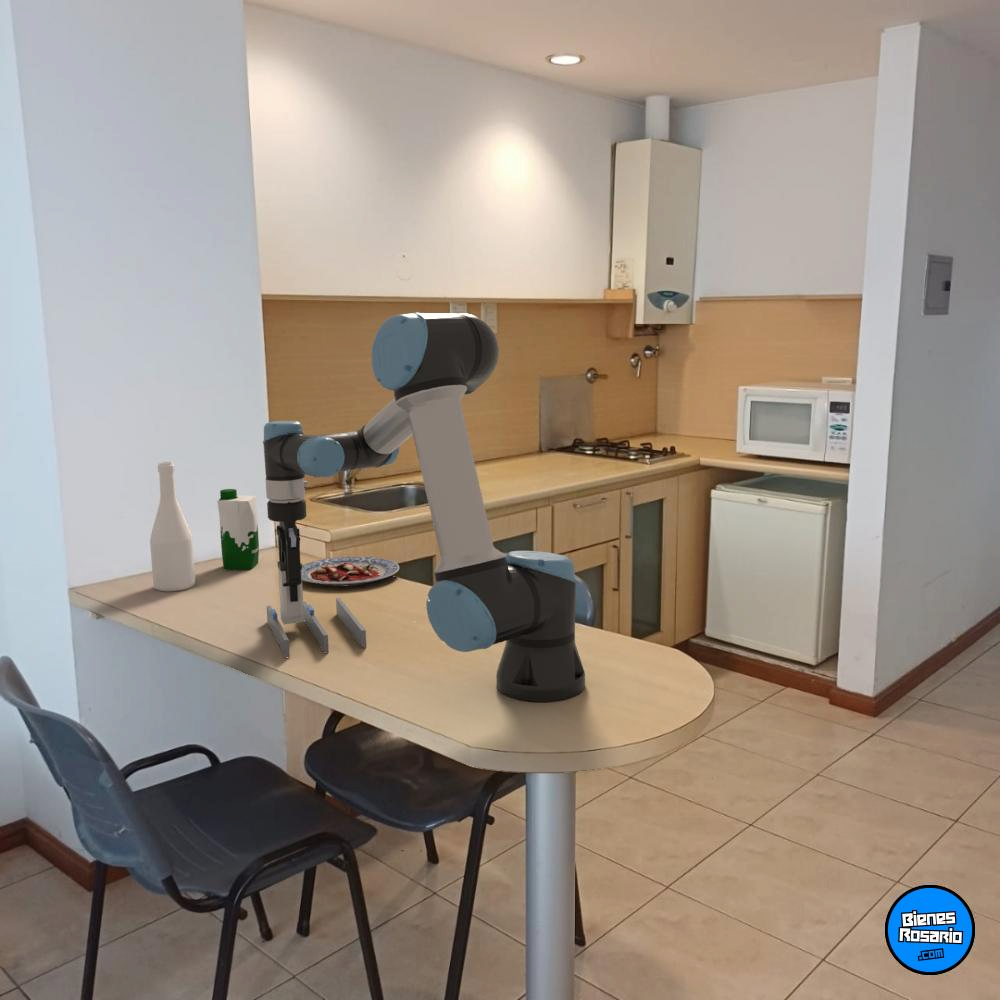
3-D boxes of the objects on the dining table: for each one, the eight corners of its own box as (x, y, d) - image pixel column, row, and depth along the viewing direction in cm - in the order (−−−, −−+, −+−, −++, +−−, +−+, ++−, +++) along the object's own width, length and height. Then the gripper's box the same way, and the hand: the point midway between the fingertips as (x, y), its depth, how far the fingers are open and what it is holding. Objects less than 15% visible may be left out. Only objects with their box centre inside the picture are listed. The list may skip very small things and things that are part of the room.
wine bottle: (151, 585, 232) (141, 461, 227) (192, 579, 236) (183, 458, 231) (156, 594, 224) (146, 466, 218) (199, 589, 228) (190, 463, 223)
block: (304, 622, 195) (301, 564, 192) (283, 624, 193) (280, 566, 191) (301, 616, 198) (298, 559, 196) (280, 618, 197) (277, 561, 195)
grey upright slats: (366, 647, 185) (365, 625, 185) (285, 658, 180) (284, 635, 179) (340, 613, 208) (339, 593, 207) (267, 622, 202) (266, 601, 201)
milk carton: (228, 562, 253) (224, 487, 250) (263, 562, 253) (258, 487, 250) (218, 571, 245) (213, 493, 241) (254, 570, 245) (249, 493, 241)
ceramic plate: (317, 598, 220) (317, 585, 220) (278, 574, 242) (277, 562, 241) (417, 581, 234) (417, 569, 233) (372, 560, 255) (372, 549, 255)
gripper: (313, 505, 185) (318, 622, 189) (298, 491, 200) (303, 599, 205) (273, 508, 182) (279, 627, 186) (261, 493, 198) (267, 603, 202)
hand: (292, 612), depth 196 cm, fingers closed on block, 4 cm apart
